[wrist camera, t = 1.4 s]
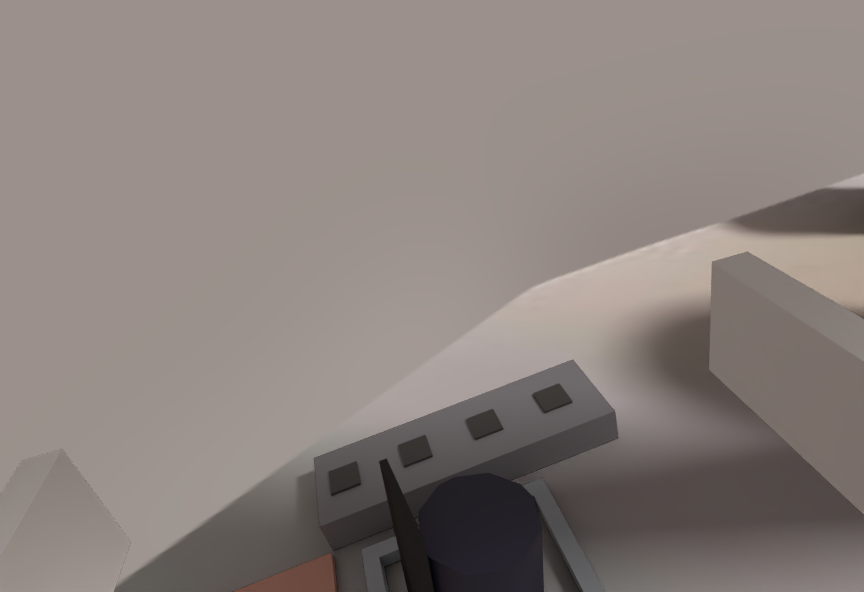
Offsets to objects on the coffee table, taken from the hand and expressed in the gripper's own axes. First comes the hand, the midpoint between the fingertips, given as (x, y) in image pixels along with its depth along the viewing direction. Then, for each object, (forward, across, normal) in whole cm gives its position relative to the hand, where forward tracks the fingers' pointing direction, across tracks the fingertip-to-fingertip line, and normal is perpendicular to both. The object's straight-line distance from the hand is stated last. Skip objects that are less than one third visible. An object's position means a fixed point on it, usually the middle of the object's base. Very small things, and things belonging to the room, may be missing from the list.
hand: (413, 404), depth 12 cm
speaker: (+9, 0, -23) cm, 24 cm away
